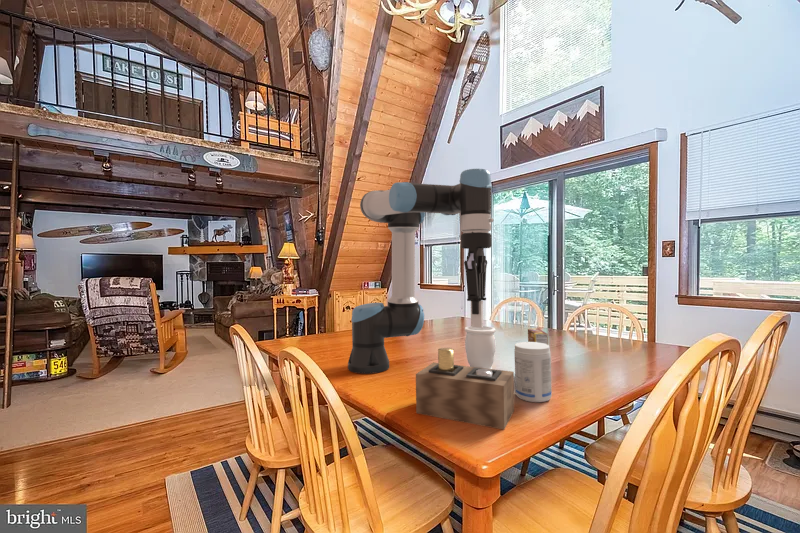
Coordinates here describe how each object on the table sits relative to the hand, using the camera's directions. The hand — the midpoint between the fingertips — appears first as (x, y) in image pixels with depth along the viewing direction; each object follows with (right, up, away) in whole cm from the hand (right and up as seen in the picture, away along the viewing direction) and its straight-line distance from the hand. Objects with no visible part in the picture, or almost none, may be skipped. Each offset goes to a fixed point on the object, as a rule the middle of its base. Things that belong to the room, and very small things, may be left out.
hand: (476, 326), depth 94 cm
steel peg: (+2, -21, -1) cm, 21 cm away
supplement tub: (+18, -22, +11) cm, 30 cm away
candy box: (+26, -22, +29) cm, 45 cm away
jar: (+9, -22, +37) cm, 44 cm away
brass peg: (-7, -17, +4) cm, 18 cm away
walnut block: (-3, -22, +2) cm, 22 cm away
